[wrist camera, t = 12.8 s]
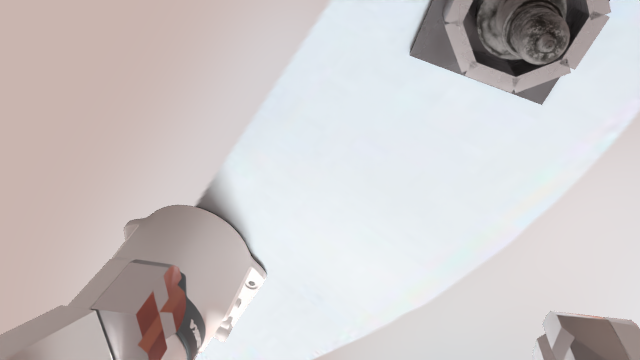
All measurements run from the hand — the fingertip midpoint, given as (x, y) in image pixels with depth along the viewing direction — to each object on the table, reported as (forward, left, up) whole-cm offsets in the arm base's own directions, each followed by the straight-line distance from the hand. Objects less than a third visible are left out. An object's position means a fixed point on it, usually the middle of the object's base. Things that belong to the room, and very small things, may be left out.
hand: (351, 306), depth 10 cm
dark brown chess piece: (+4, -8, -31) cm, 32 cm away
